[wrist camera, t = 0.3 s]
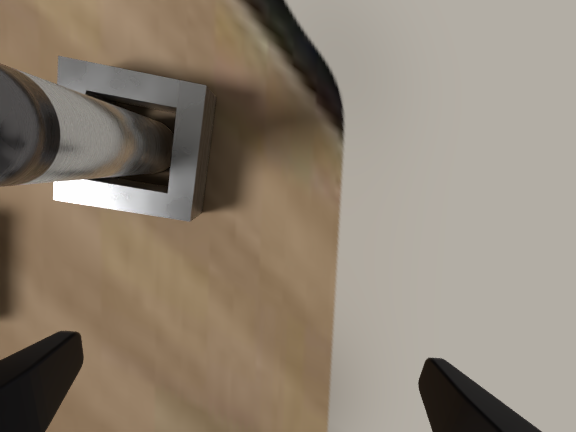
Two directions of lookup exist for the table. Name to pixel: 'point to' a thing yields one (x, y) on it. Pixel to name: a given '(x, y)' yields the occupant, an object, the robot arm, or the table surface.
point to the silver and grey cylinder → (72, 135)
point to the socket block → (186, 144)
